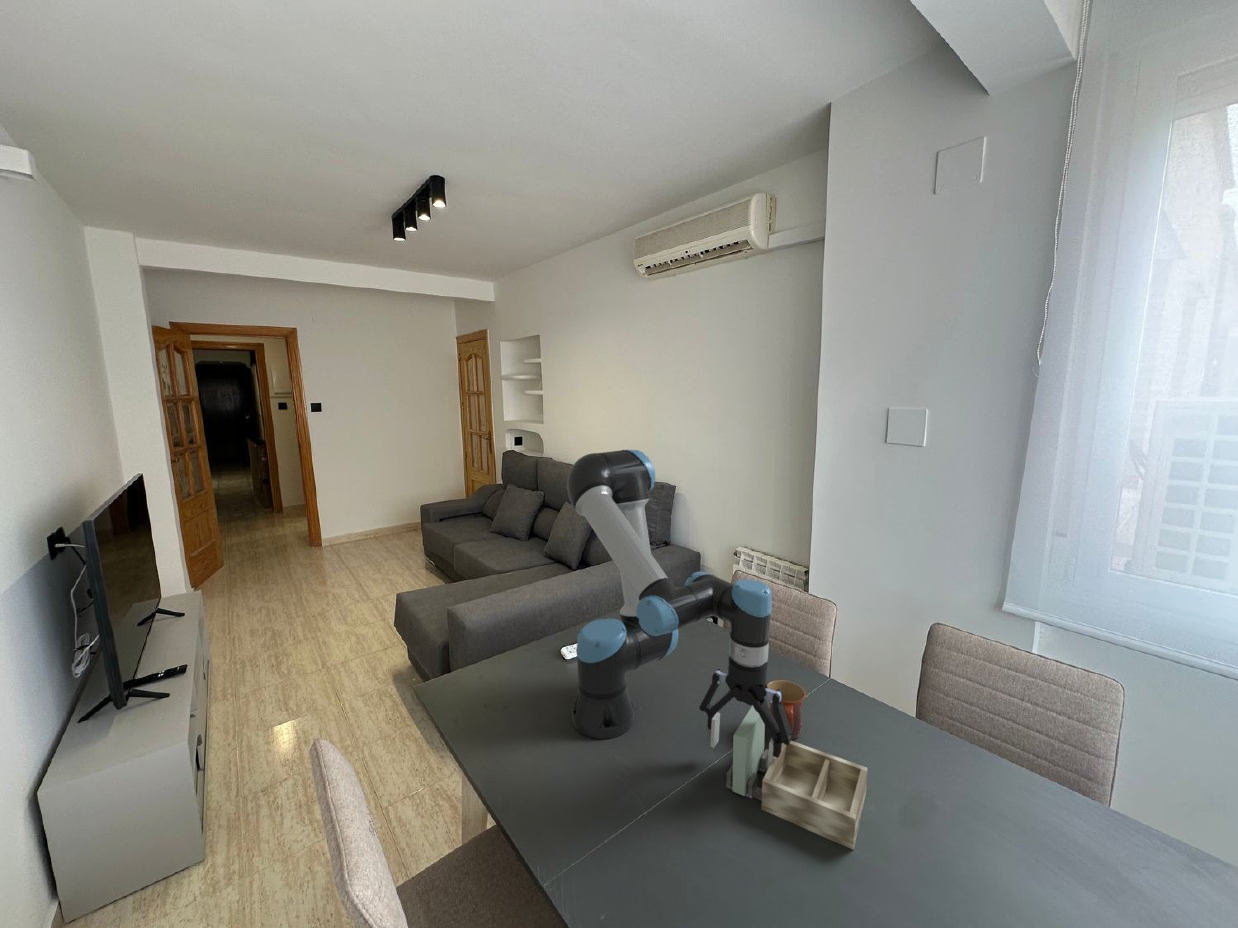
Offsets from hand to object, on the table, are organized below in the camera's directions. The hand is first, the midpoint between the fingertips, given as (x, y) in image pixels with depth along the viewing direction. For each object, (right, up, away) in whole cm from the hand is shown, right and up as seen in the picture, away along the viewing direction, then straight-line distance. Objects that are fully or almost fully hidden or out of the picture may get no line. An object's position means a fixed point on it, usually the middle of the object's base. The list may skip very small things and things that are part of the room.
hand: (742, 755), depth 105 cm
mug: (+13, -2, +11) cm, 17 cm away
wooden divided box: (+9, -4, -5) cm, 11 cm away
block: (+1, -3, -1) cm, 4 cm away
